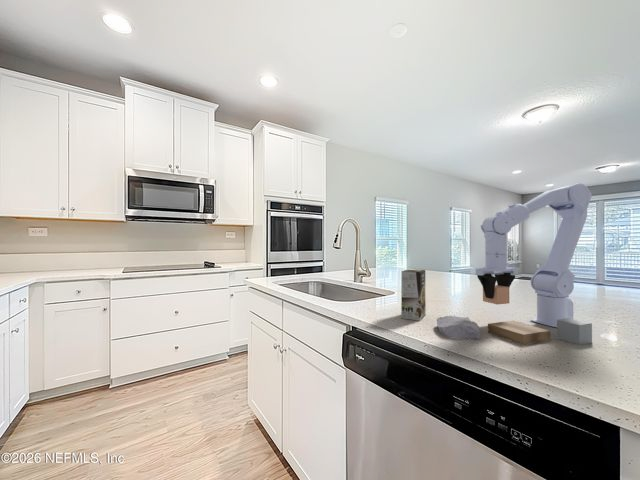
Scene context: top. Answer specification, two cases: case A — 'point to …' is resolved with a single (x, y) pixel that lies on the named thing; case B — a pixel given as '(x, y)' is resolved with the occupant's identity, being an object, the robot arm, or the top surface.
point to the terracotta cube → (498, 295)
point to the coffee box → (413, 295)
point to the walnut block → (519, 332)
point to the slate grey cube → (574, 331)
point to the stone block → (458, 327)
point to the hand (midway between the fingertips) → (496, 297)
